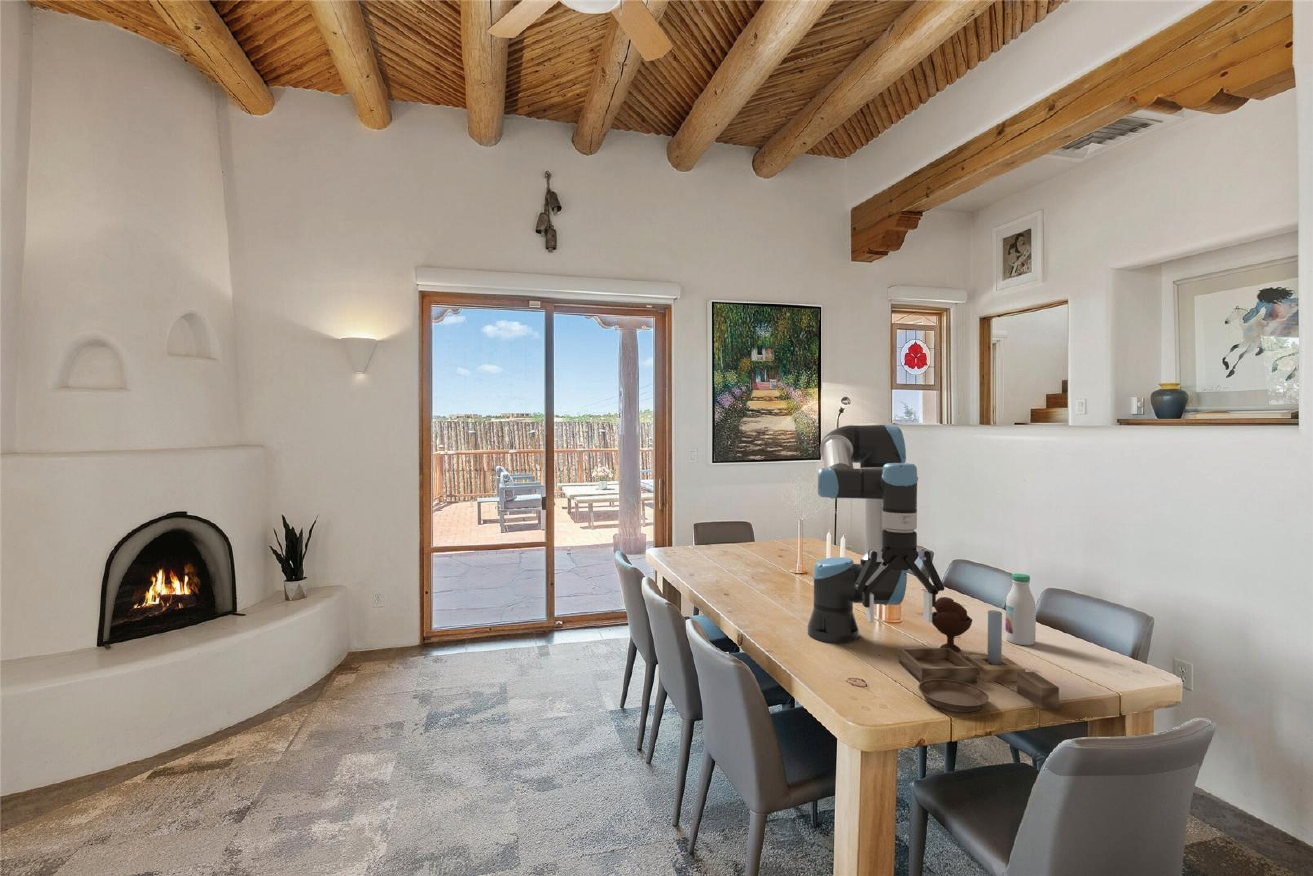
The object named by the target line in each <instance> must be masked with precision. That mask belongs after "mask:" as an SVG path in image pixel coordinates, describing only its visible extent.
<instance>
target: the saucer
mask: <svg viewBox="0 0 1313 876" xmlns="http://www.w3.org/2000/svg"><path fill="white" fill-rule="evenodd" d="M918 690H919V692H920V693H921V695H922V696H923V697H924V699H926V700H927V702H929V703H930V704H932V705H933V706H936V707H937V708H939V709H942V710H946V711H950V712H955V713H971V712H975V711H978V710H979V709H981V708H982V707H984V706H985V705H986V704H987V703H988V701H989V700H990V699H989V695H988V693H986V692H985V691H984V690H983V689H981V688H979V687H977V686H975V685H974V684H967V683H963V682H959V681H954V680H946V679H932V680H926V681H923V682H921V683H920V682H919V683H918Z"/></svg>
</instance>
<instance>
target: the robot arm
mask: <svg viewBox="0 0 1313 876" xmlns="http://www.w3.org/2000/svg"><path fill="white" fill-rule="evenodd" d="M820 442H821V443H820V444H819V445H820V446H819V453H820V457H821V458H822V460H823V464H824V465H823V466H824V468H819V469H818V471H817V494H818V496H819V497H821V498H829V499H861V500H864V499H865V552H864V554H863V555H862V556H861V557H860V560H859V561H860V563H855V562H854V560H853V559H852V558H851V557H842V556H838V557H837V556H836V557H827V558H824V559H820V560H818V561H817V562H816V563H814V566H813V575H812V578H813V609H812V612H811V615H810V618H809V620H808V622H807V623H808V624H807V635H808V636H810V637H811V638H812V639H815V640H818V641H821V642H825V643H833V644H834V643H835V644H845V643H852V642H855V641H857V640H858V639H859V638H860V637H859V636H860V632H859V630H860V629H859V625H858V623H857V620H856V617H855V614H854V609H853V607H854V604H862V606H863V607H864V608H865V609H866V610H865V619H866V620H867V621H868V622H869V623H871V624H874V618H875V615H874V613H875V612H874V611H875V610H874V607H875V605H883V606H898V605H901V604H902V603H903V601H904V598H905V597H906V596H905V595H906V590H907V584H908V570H910V571H911V572H912V573H913V574H914V576H915V577H916V579H917V580H918V581H919V582H920V583H921V585H923V586H924V587H923V588H925V589H926V590H923V614H922V615H923V619H924V620H925V621H926V622H927V623H932V613H933V608H934V607H935V605H936V601H937V595H938V594H939V592H943V591H944V590H945V585H944V584H943V581H942V580H941V578H940V576H939V573H938V572H937V570H936V568H935V566H934V563H933V561H932V555H931V554H932V553H931V551H928V550H927V549H920V550H917V546H918V532H917V531H915V530H917V529H918V509H917V508H918V481H919V477H918V469H917V466H916V464H914V463H909V462H908V463H906V461H907V450H906V443H905V438H904V434H903V431H902V429H901V428H900V427H899V426H897V425H890V424H889V425H888V424H887V425H886V424H870V425H866V424H863V425H861V424H860V425H857V424H856V425H854V424H853V425H852V424H850V425H844V426H840V427H837V428H835V429H834V430H831V431H830V432H828V433H827V434H826V435H825V436H824V437H823V438H822V440H821V441H820ZM853 463H854V464H860V465H859V468H854V464H853ZM918 558H919V560H921V561H922V564H923V567H924V568H925V570H926V571H927V574H928V576H929V578H930V580H931V581H930V580H929V579H928V578H927V577H926V576H925V574H924V573H923V572H922V571H921V569H920V568H919V566H918V565H917V564H916V563H915V562H916V561H917V559H918Z"/></svg>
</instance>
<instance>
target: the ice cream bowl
mask: <svg viewBox="0 0 1313 876" xmlns="http://www.w3.org/2000/svg"><path fill="white" fill-rule="evenodd" d="M933 608H934V609H935V611H932V622H931V623H932V625H933V626H934V627H935V629H937V631H939V632H940V633H941V634H942V635H944V636H946V638H947V639H946V643H943V644H941V645H940V646H939V648H951V649H952V650H953V651H955V652H956V653H958V654H959V653H961V652H962V649H961V648H960V646H958V645H957V644H955V637H958V636H961V635H963V634H964V633H966V632H967V631H969V629H970V628H971V626H972V622H973V619H972V618H971V617H970V616H969V615H968V611H967V610H966V608H965V607H964V606H963V605H962V604H960V603H959V602H957V601H955V600H954V599H953V598H951V597H947V596H941V597H939V598H936V605H935V607H933Z"/></svg>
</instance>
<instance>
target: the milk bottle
mask: <svg viewBox="0 0 1313 876" xmlns="http://www.w3.org/2000/svg"><path fill="white" fill-rule="evenodd" d="M1030 581H1031V577H1030V575H1028V574H1024V573H1013V574H1011V582H1012V584H1011V585H1012V586H1011V588H1010V591H1009V592H1008V594H1007V597H1006V600H1005V601H1006V602H1005V631H1004V633H1005V640H1006V641H1008V642H1009V643H1011V644H1013V645H1019V646H1033V645H1035V644H1036V630H1037V626H1036V623H1037V620H1036V619H1037V617H1036V616H1037V615H1036V612H1037V611H1036V610H1037V609H1036V608H1037V607H1036V601H1035V598H1034V596H1033V594H1032V591H1031V589H1030V583H1031V582H1030Z"/></svg>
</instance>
